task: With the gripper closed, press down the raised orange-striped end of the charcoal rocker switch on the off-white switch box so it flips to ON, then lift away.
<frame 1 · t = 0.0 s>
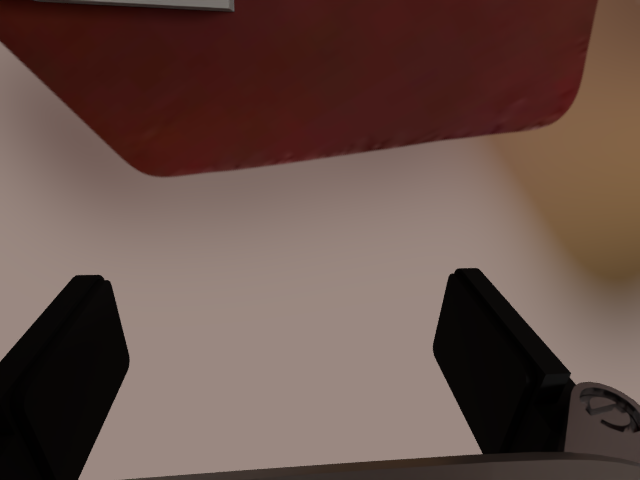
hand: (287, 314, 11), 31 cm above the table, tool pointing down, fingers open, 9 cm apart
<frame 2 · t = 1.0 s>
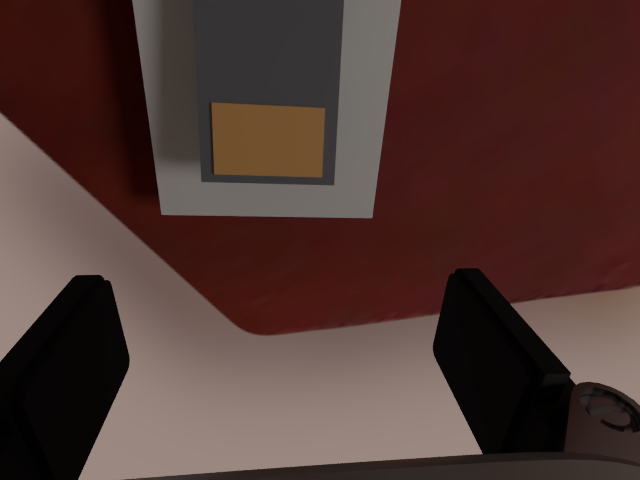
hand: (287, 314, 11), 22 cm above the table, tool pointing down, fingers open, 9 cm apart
switch box: (271, 56, 28), on the table
rocker switch: (269, 59, 22), point 7 cm above the table, hinge at -10.0°
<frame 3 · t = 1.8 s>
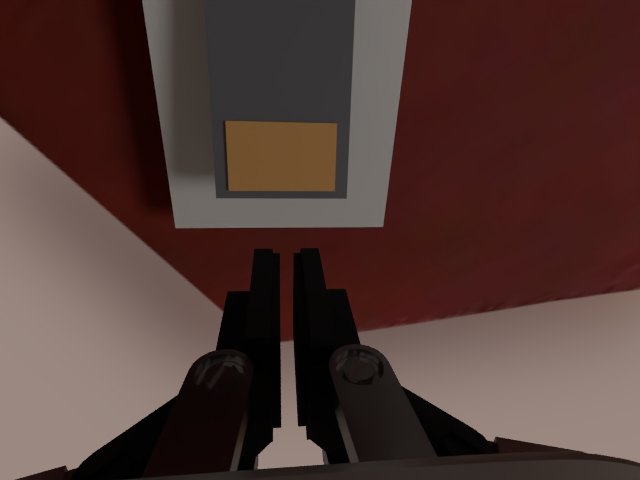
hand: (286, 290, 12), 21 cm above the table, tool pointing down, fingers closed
switch box: (280, 69, 28), on the table
rocker switch: (281, 76, 22), point 7 cm above the table, hinge at -10.0°
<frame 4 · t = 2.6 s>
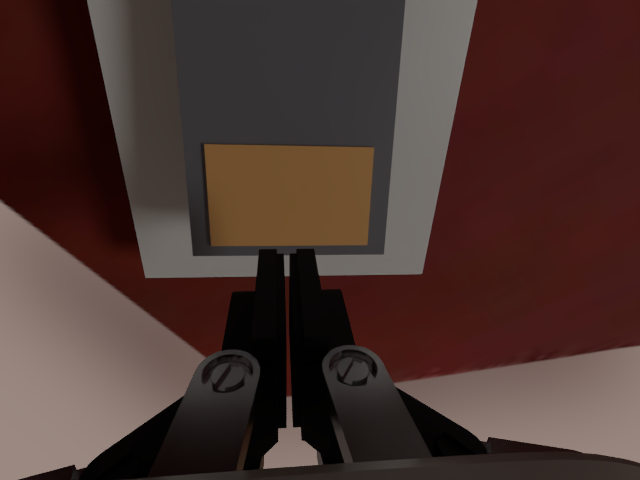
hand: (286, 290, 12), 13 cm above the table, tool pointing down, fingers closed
switch box: (287, 62, 20), on the table
rocker switch: (290, 76, 14), point 7 cm above the table, hinge at -10.0°
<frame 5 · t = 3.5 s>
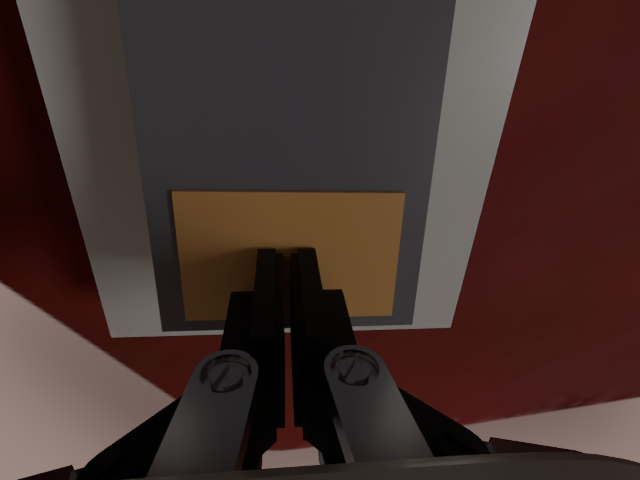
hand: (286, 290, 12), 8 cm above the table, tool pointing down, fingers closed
switch box: (287, 72, 16), on the table
rocker switch: (291, 95, 10), point 7 cm above the table, hinge at -7.5°, touching gripper
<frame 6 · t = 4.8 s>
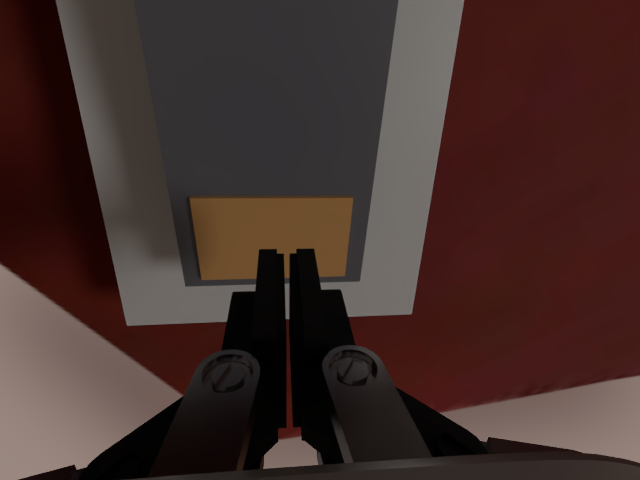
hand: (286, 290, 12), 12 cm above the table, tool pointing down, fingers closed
switch box: (272, 107, 21), on the table
rocker switch: (272, 128, 14), point 7 cm above the table, hinge at 7.7°
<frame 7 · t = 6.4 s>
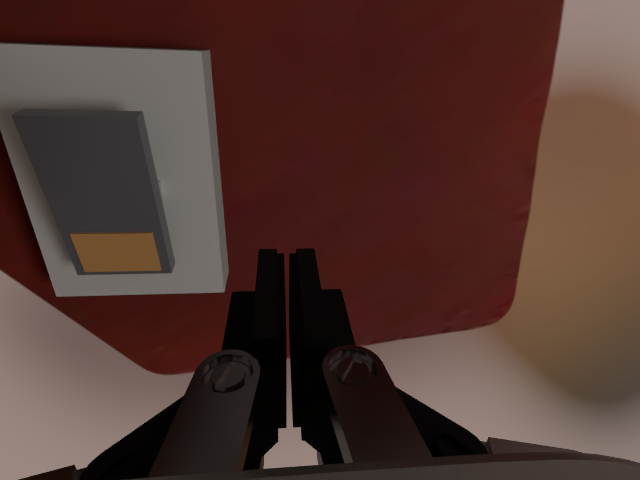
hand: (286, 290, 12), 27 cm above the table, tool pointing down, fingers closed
switch box: (135, 175, 37), on the table
rocker switch: (106, 201, 31), point 7 cm above the table, hinge at 8.2°
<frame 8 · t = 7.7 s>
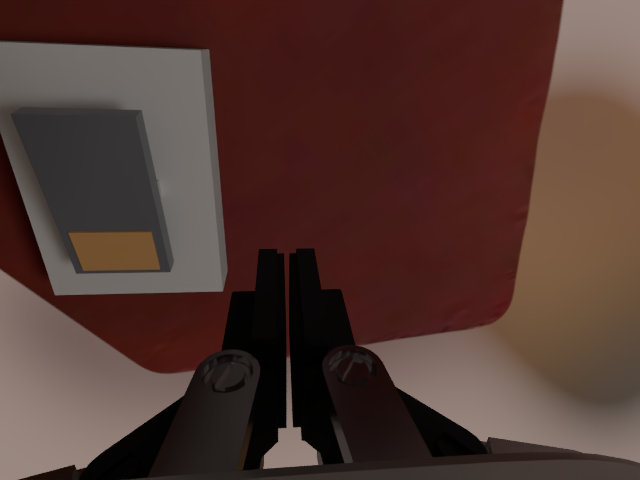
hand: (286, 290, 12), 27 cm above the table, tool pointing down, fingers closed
switch box: (133, 173, 37), on the table
rocker switch: (105, 200, 31), point 7 cm above the table, hinge at 8.2°
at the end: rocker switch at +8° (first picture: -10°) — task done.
